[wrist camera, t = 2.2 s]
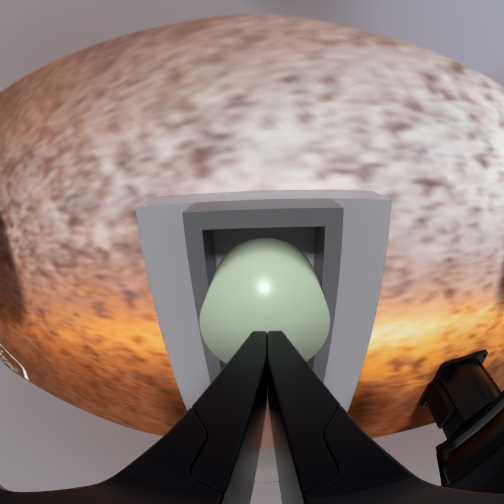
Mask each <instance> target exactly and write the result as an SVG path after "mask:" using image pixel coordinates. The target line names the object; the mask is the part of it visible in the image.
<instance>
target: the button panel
mask: <svg viewBox="0 0 504 504" xmlns="http://www.w3.org/2000/svg"><path fill="white" fill-rule="evenodd" d="M390 213H391V199H388V198H386V197H384V196H382V195H380V194H377V193H375V192H373V191H343V190H285V191H250V192H228V193H211V194H196V195H183V196H171V197H160V198H154V199H152V200H150V201H148V202H146V203H144V204H142V205H140V206H138V207H136V214H137V221H138V227H139V234H140V239H141V245H142V251H143V256H144V261H145V266H146V271H147V276H148V280H149V285H150V289H151V294H152V298H153V302H154V306H155V310H156V314H157V318H158V322H159V326H160V329H161V333H162V336H163V340H164V343H165V347H166V350H167V353H168V357H169V360H170V363H171V366H172V369H173V372H174V376H175V379H176V381H177V384H178V387H179V390H180V393H181V396H182V399H183V401H184V404H185V407H186V409H187V411H188V410H189V409H190V408H192V405H193V404H194V403H195V402H196V401H197V399H198V398H199V397H200V396H201V395H202V393H203V392H204V391H205V390H206V389H207V387H208V386H209V385H210V384H211V383H212V381H213V380H214V379H215V378H216V377H217V375H218V374H219V373H220V372H221V370H222V369H223V368H224V367H225V365H226V363H224V362H223V361H222V360H220V359H219V358H218V357H216V356H215V355H214V354H213V353H212V352H211V350H210V349H209V348H208V346H207V345H206V343H205V342H204V339H203V337H202V334H201V330H200V323H199V321H200V313H201V308H202V306H203V303H204V300H205V298H206V295H207V293H208V290H209V287H210V285H211V282H212V279H213V277H214V274H215V272H216V269H217V267H218V265H219V263H220V261H221V260H222V258H223V257H224V256H225V255H226V254H227V253H228V252H229V251H230V250H231V249H233V248H234V247H235V246H237V245H239V244H241V243H243V242H246V241H249V240H253V239H258V238H272V239H278V240H282V241H285V242H287V243H289V244H292V245H293V246H295V247H297V248H298V249H299V250H300V251H302V252H303V253H304V254H305V255H306V257H307V258H308V259H309V261H310V262H311V264H312V266H313V268H314V271H315V274H316V276H317V279H318V282H319V284H320V287H321V290H322V292H323V295H324V298H325V301H326V303H327V306H328V310H329V314H330V328H329V333H328V336H327V338H326V340H325V342H324V344H323V346H322V347H321V348H320V350H319V351H318V352H317V353H316V354H315V355H314V356H313V357H312V358H310V359H309V360H308V361H306V362H307V363H308V364H309V366H310V367H311V368H312V370H313V371H314V372H315V373H316V375H317V376H318V377H319V378H320V380H321V381H322V382H323V383H324V385H325V386H326V387H327V388H328V390H329V391H330V392H331V393H332V394H333V396H334V397H335V398H336V399H337V401H338V402H339V403H340V406H342V407H343V408H344V409H345V410H346V411H347V412H348V410H349V407H350V404H351V401H352V398H353V395H354V392H355V389H356V386H357V383H358V380H359V377H360V373H361V370H362V366H363V363H364V359H365V356H366V352H367V348H368V344H369V341H370V337H371V332H372V328H373V324H374V319H375V315H376V310H377V305H378V300H379V295H380V290H381V284H382V278H383V272H384V265H385V258H386V251H387V243H388V234H389V224H390Z"/></svg>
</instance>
